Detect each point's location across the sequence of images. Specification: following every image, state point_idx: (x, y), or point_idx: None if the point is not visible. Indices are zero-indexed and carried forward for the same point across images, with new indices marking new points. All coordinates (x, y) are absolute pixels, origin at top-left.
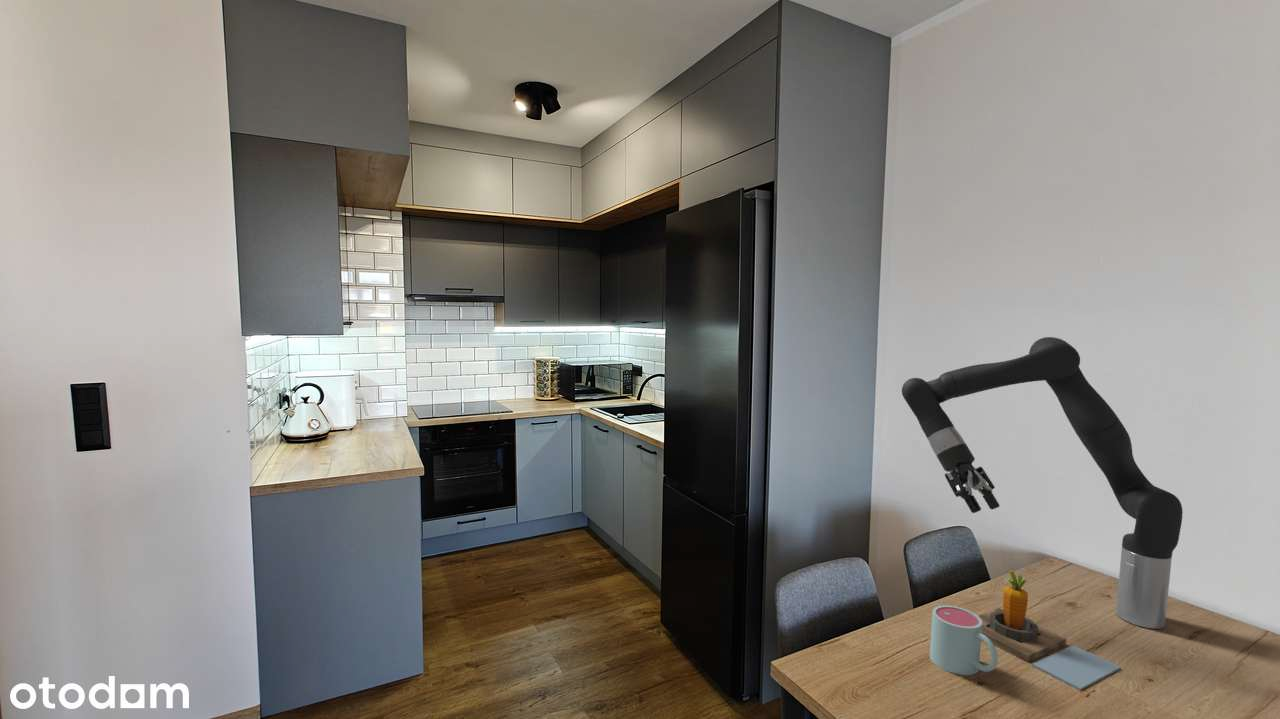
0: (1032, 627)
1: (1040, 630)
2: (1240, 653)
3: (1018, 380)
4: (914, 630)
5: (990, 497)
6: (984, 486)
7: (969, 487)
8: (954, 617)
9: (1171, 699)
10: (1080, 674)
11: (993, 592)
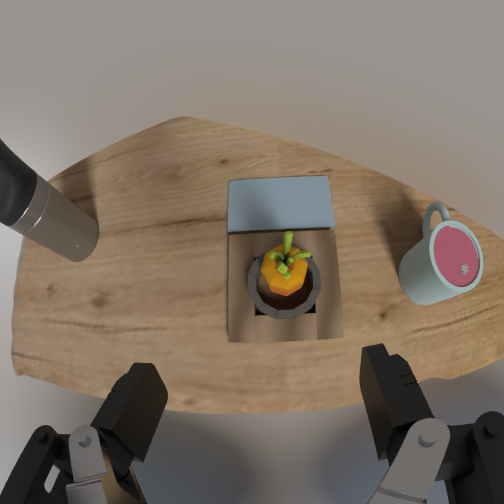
0: None
1: (241, 265)
2: (91, 167)
3: None
4: (412, 357)
5: (132, 417)
6: (111, 478)
7: (408, 486)
8: (460, 257)
9: (246, 139)
10: (297, 189)
11: None
